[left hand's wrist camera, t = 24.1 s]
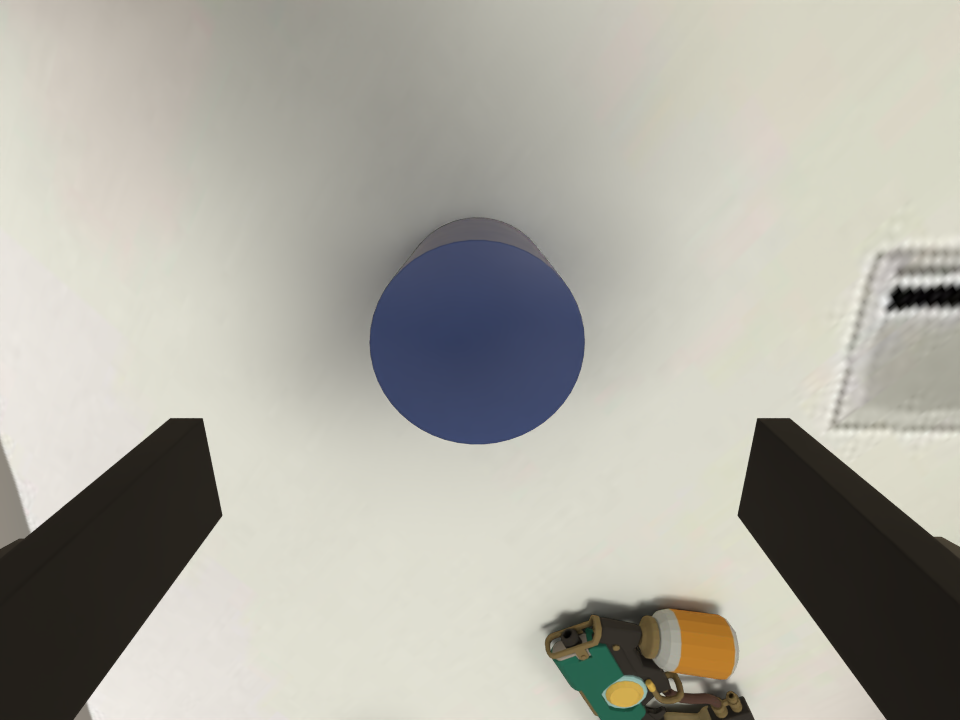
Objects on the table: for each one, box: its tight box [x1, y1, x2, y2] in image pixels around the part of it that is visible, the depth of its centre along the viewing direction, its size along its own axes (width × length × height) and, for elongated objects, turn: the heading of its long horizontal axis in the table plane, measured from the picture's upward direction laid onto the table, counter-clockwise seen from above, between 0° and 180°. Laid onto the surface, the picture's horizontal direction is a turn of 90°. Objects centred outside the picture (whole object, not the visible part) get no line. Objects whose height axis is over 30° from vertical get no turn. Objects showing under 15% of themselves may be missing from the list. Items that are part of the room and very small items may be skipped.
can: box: [370, 218, 585, 444], centre depth 27 cm, size 9×9×11 cm
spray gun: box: [545, 609, 754, 720], centre depth 41 cm, size 4×17×15 cm
